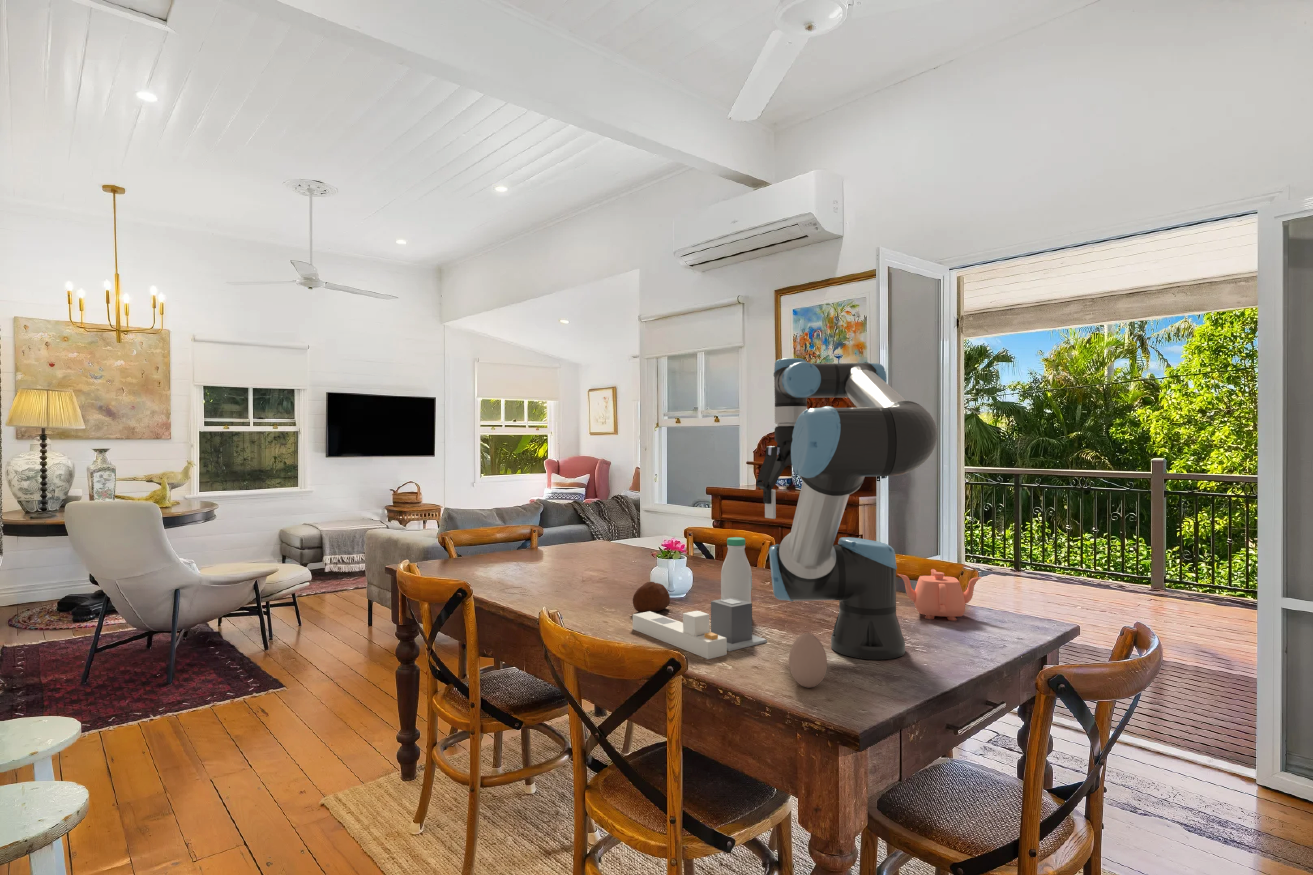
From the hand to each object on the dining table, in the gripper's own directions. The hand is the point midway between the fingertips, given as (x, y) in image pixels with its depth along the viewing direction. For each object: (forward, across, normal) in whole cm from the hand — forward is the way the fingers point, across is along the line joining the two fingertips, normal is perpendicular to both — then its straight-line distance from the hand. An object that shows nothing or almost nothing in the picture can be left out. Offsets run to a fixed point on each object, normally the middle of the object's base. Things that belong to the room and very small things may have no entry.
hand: (791, 516), depth 166 cm
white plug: (+23, +27, -2) cm, 36 cm away
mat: (+27, +17, -2) cm, 32 cm away
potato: (+27, +16, -34) cm, 46 cm away
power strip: (+27, +27, -9) cm, 39 cm away
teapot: (+27, -40, +12) cm, 50 cm away
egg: (+27, +25, +28) cm, 46 cm away
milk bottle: (+27, +3, -16) cm, 31 cm away
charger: (+26, +17, -2) cm, 31 cm away
